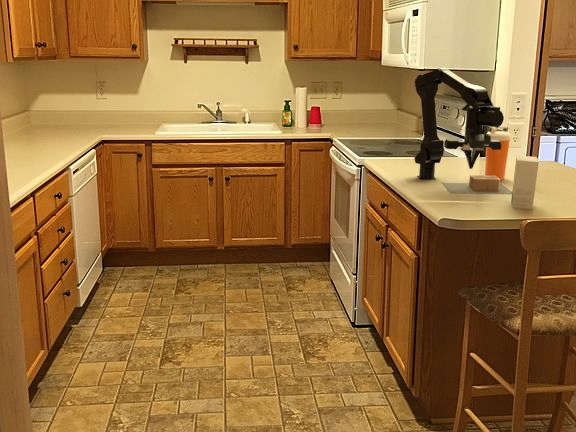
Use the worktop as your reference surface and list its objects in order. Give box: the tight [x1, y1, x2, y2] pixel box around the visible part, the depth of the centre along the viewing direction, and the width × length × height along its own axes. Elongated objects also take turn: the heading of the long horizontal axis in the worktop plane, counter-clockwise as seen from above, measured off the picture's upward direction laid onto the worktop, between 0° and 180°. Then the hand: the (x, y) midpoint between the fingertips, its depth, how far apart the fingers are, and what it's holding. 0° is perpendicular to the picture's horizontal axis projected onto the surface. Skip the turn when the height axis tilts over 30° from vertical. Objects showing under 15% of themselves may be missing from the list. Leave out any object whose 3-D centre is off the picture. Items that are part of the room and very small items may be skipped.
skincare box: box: [510, 155, 539, 211], centre depth 204 cm, size 8×7×16 cm
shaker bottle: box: [484, 126, 512, 181], centre depth 245 cm, size 9×9×20 cm
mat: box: [441, 182, 512, 195], centre depth 230 cm, size 18×22×1 cm
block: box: [468, 174, 501, 191], centre depth 229 cm, size 7×4×9 cm
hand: (470, 168), depth 228 cm, fingers closed
